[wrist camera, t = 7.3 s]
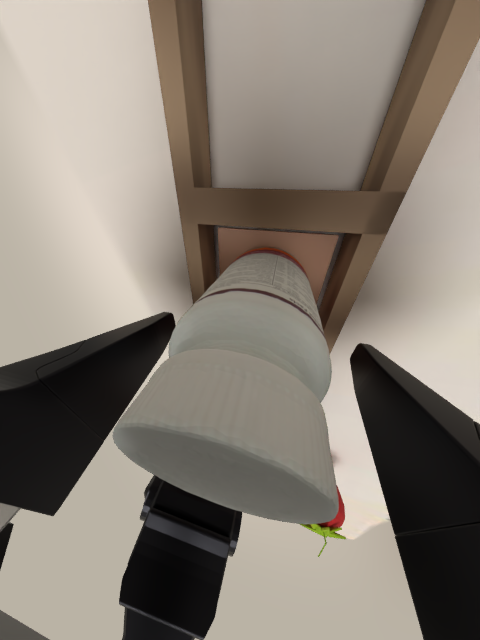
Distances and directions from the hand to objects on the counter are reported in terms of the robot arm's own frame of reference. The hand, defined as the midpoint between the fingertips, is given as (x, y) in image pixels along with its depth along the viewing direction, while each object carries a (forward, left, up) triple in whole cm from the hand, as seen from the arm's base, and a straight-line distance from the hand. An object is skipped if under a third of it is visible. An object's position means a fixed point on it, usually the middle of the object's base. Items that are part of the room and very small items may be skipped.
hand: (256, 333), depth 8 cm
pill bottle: (0, 0, -6) cm, 6 cm away
